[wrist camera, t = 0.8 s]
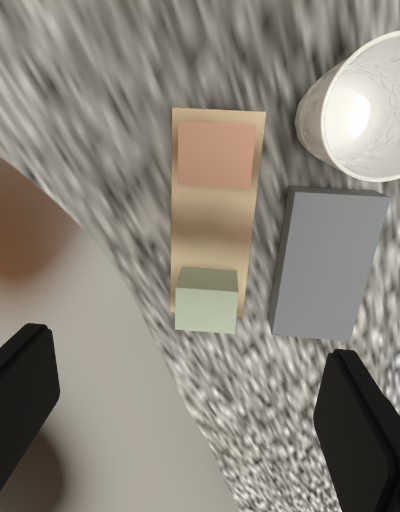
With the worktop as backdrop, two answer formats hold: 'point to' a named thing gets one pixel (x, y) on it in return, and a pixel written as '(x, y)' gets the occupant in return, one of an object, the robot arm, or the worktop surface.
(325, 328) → the dock
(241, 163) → the salmon square box
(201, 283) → the pale green block
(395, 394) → the worktop surface
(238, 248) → the long beige board
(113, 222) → the worktop surface
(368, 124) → the white cup
